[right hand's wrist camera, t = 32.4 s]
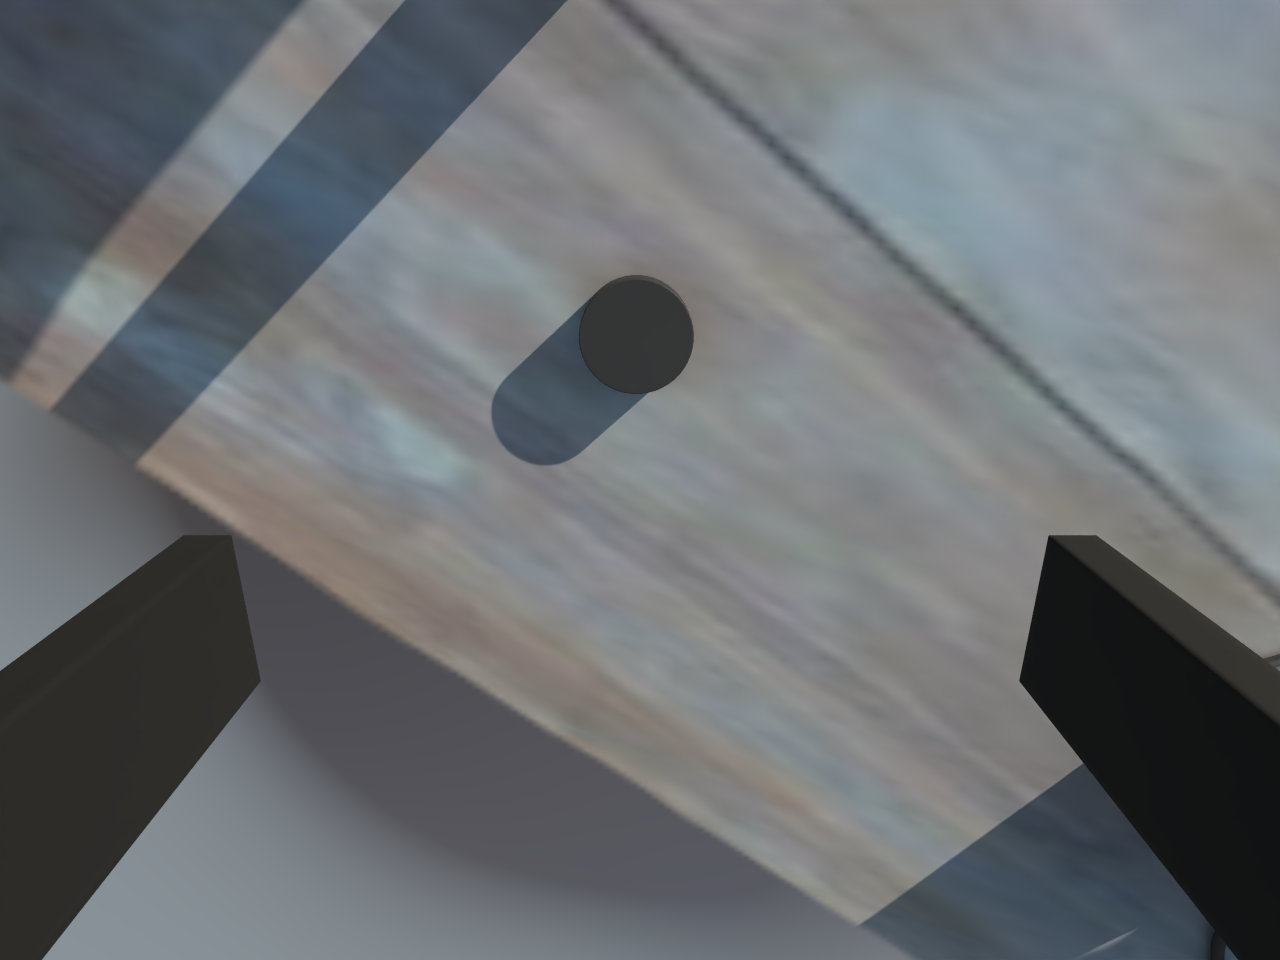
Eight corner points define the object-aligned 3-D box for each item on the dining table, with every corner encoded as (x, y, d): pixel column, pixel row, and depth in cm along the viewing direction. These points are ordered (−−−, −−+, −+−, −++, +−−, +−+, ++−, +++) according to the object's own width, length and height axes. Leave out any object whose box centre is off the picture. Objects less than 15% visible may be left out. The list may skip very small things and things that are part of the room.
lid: (622, 405, 39) (621, 414, 37) (560, 316, 37) (556, 322, 36) (712, 346, 38) (715, 353, 36) (651, 252, 36) (652, 255, 35)
